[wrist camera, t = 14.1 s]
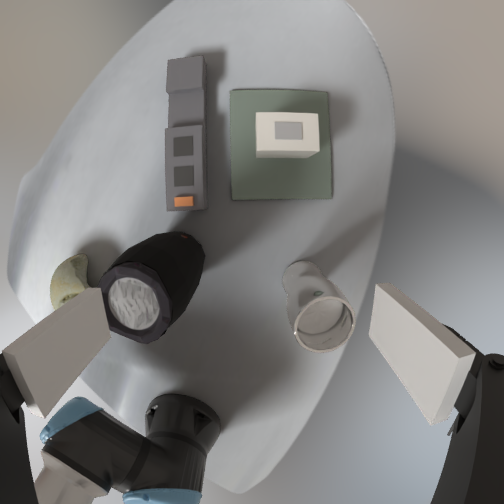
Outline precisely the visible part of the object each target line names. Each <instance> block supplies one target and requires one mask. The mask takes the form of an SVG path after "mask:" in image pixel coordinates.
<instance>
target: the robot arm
mask: <svg viewBox="0 0 504 504" xmlns="http://www.w3.org/2000/svg"><path fill="white" fill-rule="evenodd" d="M369 337H370V338H371V340H372V341H373V342H374V344H375V345H376V347H377V348H378V349H379V351H380V352H381V353H382V355H383V356H384V358H385V359H386V361H387V362H388V363H389V365H390V366H391V368H392V369H393V371H394V372H395V373H396V375H397V376H398V378H399V379H400V380H401V382H402V384H403V385H404V387H405V388H406V389H407V391H408V392H409V394H410V395H411V397H412V398H413V400H414V401H415V403H416V404H417V406H418V407H419V409H420V410H421V412H422V413H423V415H424V416H425V418H426V419H427V421H428V423H429V424H430V425H433V424H436V423H439V422H442V421H445V420H447V419H448V418H449V415H450V414H451V412H452V410H453V408H454V407H455V408H456V409H457V410H458V412H459V413H458V415H457V417H456V419H455V421H454V423H453V425H452V427H451V428H450V430H449V432H448V434H447V435H448V436H449V435H450V434H451V432H452V431H453V433H452V437H451V441H450V445H449V449H448V453H447V456H446V460H445V463H444V467H443V470H442V473H441V476H440V479H439V482H438V485H437V488H436V491H435V493H434V496H433V499H432V501H431V504H504V356H503V355H500V354H488V355H483V354H482V353H481V352H480V351H479V350H478V349H476V348H475V347H474V346H473V345H472V344H471V343H469V342H468V341H466V339H465V338H463V337H462V336H460V334H458V333H457V332H456V331H455V330H454V329H452V328H450V327H448V326H446V325H444V324H441V323H440V322H439V321H438V320H436V319H435V318H434V317H433V316H432V315H430V314H429V313H428V312H426V311H425V310H424V309H423V308H421V307H420V306H419V305H418V304H416V303H415V302H414V301H413V300H411V299H410V298H409V297H407V296H406V295H405V294H404V293H402V292H401V291H400V290H398V289H397V288H396V287H395V286H393V285H392V284H391V283H381V284H376V287H375V295H374V303H373V311H372V318H371V324H370V331H369ZM110 338H111V334H110V330H109V326H108V322H107V317H106V313H105V308H104V303H103V298H102V292H101V288H87V289H86V290H84V291H83V292H81V293H80V294H78V295H77V296H75V297H74V298H73V299H71V300H70V301H68V302H67V303H65V304H64V305H63V306H61V307H60V308H58V309H57V310H55V311H54V312H53V313H51V314H50V315H49V316H47V317H46V318H44V319H43V320H42V321H40V322H39V323H38V324H36V325H35V326H34V327H32V328H31V329H30V330H28V331H27V332H26V333H24V334H23V335H22V336H20V337H19V338H18V339H16V340H15V341H14V342H13V343H11V344H10V345H9V346H7V347H6V348H5V349H4V350H2V353H1V354H0V504H92V502H93V500H94V498H96V497H101V496H106V495H108V493H109V491H110V489H111V487H112V488H114V489H116V490H118V491H120V492H121V493H123V502H124V504H199V503H200V499H201V497H202V494H201V491H202V485H203V478H204V471H205V465H206V458H207V454H208V453H209V451H210V450H211V448H212V447H213V445H214V444H215V442H216V440H217V439H218V437H219V433H220V420H219V418H218V416H217V414H216V413H215V412H214V411H213V410H212V409H211V408H210V407H209V406H207V405H206V404H204V403H203V402H201V401H199V400H197V399H194V398H191V397H188V396H184V395H176V394H170V395H163V396H159V397H157V398H155V399H154V400H153V401H152V402H151V403H150V404H149V407H148V409H147V411H146V415H145V427H146V437H144V436H142V435H141V434H139V433H138V432H136V431H134V430H133V429H131V428H129V427H128V426H126V425H124V424H123V423H121V422H120V421H118V420H117V419H115V418H114V417H113V416H111V415H110V414H108V413H107V412H105V411H104V409H103V408H100V407H98V406H96V405H95V404H93V403H92V402H90V401H89V400H88V399H86V398H84V397H75V398H73V399H71V400H70V401H68V402H67V403H66V404H65V405H64V406H63V407H62V408H61V409H60V410H59V411H58V412H57V413H56V414H55V415H54V416H53V417H52V418H51V419H50V421H49V422H48V424H47V425H46V426H45V427H44V429H43V430H42V432H41V433H40V439H41V441H42V443H44V444H45V446H44V447H43V449H42V451H41V454H42V457H43V461H44V467H43V469H42V471H41V473H40V474H39V476H38V478H37V479H36V481H35V483H34V482H33V477H32V472H31V467H30V461H29V455H28V448H27V440H26V431H25V418H24V412H23V410H22V408H21V405H22V403H23V402H24V401H25V403H26V405H27V407H28V408H29V410H30V412H31V413H32V414H34V415H37V416H39V417H41V418H44V419H45V418H46V416H47V415H48V414H49V413H50V411H51V410H52V408H53V407H54V406H55V405H56V404H57V402H58V401H59V400H60V398H61V397H62V396H63V395H64V393H65V392H66V391H67V390H68V388H69V387H70V386H71V385H72V383H73V382H74V381H75V380H76V379H77V377H78V376H79V375H80V374H81V373H82V371H83V370H84V369H85V368H86V367H87V365H88V364H89V363H90V362H91V361H92V359H93V358H94V357H95V356H96V355H97V353H98V352H99V351H100V350H101V349H102V348H103V346H104V345H105V344H106V343H107V342H108V341H109V339H110Z"/></svg>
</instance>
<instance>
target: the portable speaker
mask: <svg viewBox="0 0 504 504" xmlns="http://www.w3.org/2000/svg"><path fill="white" fill-rule="evenodd" d="M204 258H205V254H204V251H203V249H202V246H201V244H199V243H198V242H197V241H196V240H195V239H194V238H193V237H192V236H191V235H188V234H186V233H183V232H169V233H161V234H156V235H154V236H152V237H150V238H148V239H146V240H144V241H142V242H140V243H138V244H136V245H134V246H132V247H130V248H129V249H127V250H126V251H125V252H124V253H123V254H122V255H121V256H120V257H119V258H118V259H117V260H116V261H115V262H114V263H113V264H112V266H111V267H110V268H109V269H108V270H107V272H105V273H104V275H103V276H102V278H101V280H100V282H99V284H98V286H97V288H101V292H102V298H103V303H104V308H105V313H106V317H107V322H108V326H109V330H111V331H113V332H115V333H117V334H120V335H122V336H125V337H127V338H129V339H132V340H134V341H137V342H139V343H143V344H148V343H150V342H152V341H155V340H157V339H159V337H161V336H162V335H163V334H165V332H166V329H167V328H168V327H170V326H171V325H172V324H173V323H174V322H175V321H176V320H177V319H178V318H179V317H180V316H181V314H182V313H183V312H184V311H185V310H186V308H187V306H188V304H189V302H190V300H191V298H192V296H193V294H194V293H195V291H196V289H197V287H198V285H199V282H200V278H201V274H202V270H203V263H204Z"/></svg>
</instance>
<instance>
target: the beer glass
mask: <svg viewBox="0 0 504 504" xmlns="http://www.w3.org/2000/svg"><path fill="white" fill-rule="evenodd" d="M282 284H283V288H284V290H285V292H286V293H287V294H288V295H287V315H288V319H289V322H290V325H291V328H292V330H293V332H294V334H295V337H296V339H297V341H298V343H299V344H300V345H301V346H302V347H303V348H305V349H307V350H309V351H311V352H316V353H324V352H329V351H332V350H335V349H337V348H339V347H340V346H342V345H343V344H344V343H345V342H346V341H347V340H348V339H349V338H350V336H351V335H352V333H353V331H354V328H355V323H356V318H355V313H354V310H353V308H352V307H351V305H350V304H349V302H348V300H347V298H346V297H345V295H344V294H343V292H342V291H341V290H340V289H339V288H338V286H337V285H336V284H334V283H333V282H332V281H330V280H329V279H327V278H325V277H323V276H322V273H321V271H320V269H319V268H318V267H317V266H316V265H315V264H314V263H312V262H309V261H298V262H295V263H293V264H291V265H290V266H289V267H288V268H287V269H286V271H285V272H284V275H283V279H282Z"/></svg>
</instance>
